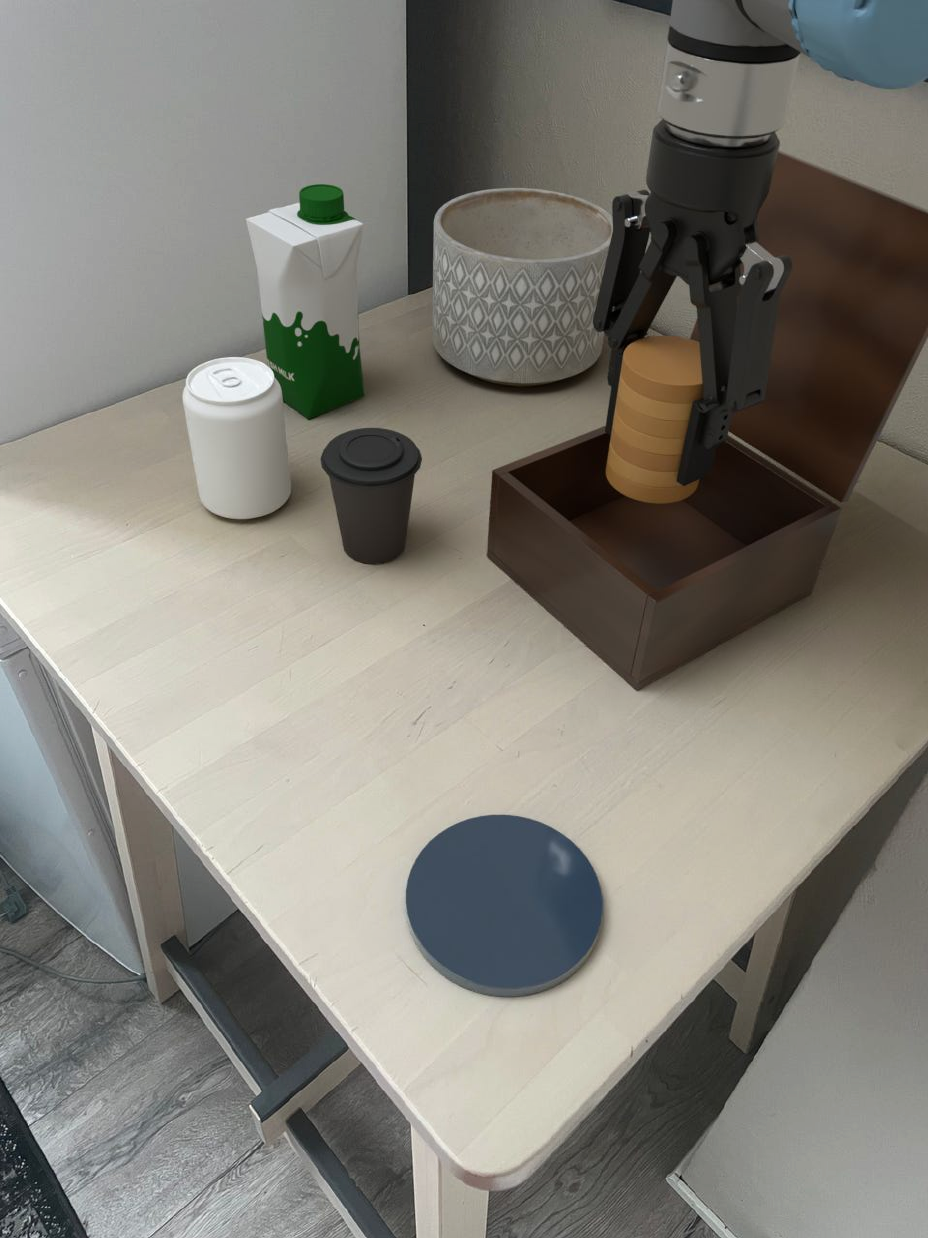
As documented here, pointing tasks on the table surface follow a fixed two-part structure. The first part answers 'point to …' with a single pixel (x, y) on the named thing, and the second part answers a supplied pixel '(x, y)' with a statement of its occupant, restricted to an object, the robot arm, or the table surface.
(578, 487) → the chest
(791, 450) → the lid
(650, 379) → the cookies
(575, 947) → the plate
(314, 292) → the milk carton
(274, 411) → the beverage can
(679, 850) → the table surface
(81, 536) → the table surface
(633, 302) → the robot arm
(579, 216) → the planter
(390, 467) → the coffee cup
